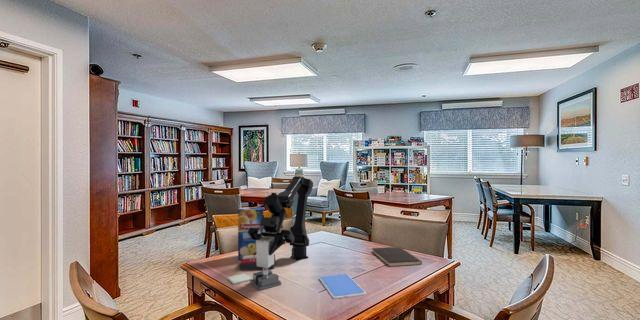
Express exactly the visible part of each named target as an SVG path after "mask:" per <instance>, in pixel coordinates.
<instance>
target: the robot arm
mask: <svg viewBox="0 0 640 320" xmlns="http://www.w3.org/2000/svg"><path fill="white" fill-rule="evenodd" d="M313 187H314V182H313V181H312V179H310V178H305V176H297V175H296V176H293V177H292V179H291V181H290V183H289V184H288V185H287V187H286V188H285V189H284V191H281V192H279V193H278V194H277V192H271V193H270V194H269V195H267V196H266V197H265V198H264V199H263V204H264V206H265V208H266V209H267V210H268V212H269V213H270V214H271V215H270V217H269V216H268V217H267V216H263V217H261V221H260V226H261V225H262V226H263V231H261V230H260V229H259V228H256V227H251V228H249V230H248V232H247V233H248V234H249V235H250V237H251V238H252V239H253V240H258V239H260V238H262V237H266V238H274V242H273V244H272V247H271V249H270V253H269V255H272V254H273V253H274V254H275V252H276V251H277V250H278V249H280V247H282V246H283V245H286V243H287V244H289V246H292V247H291V255H290V258H293V260H294V259H295V260H296V261H299V260H305V259H308V258H309V256H308V255H307V247H309V245H310V239H309V237H308V234H307V232H308V231H307V229H306V227H305V222H306V212H307V205H308V197H309V196H310V194H311V193H312V190H313ZM296 194H297V203H296V211H295V219H294V224H293V225H292V226H290V228H289V229H283V228H284V226H283V224H284V221H285V218H288V214H287V210H286V209H291V208H292V206H293V205H294V197H295V196H296Z"/></svg>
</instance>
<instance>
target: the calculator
mask: <svg viewBox="0 0 640 320" xmlns="http://www.w3.org/2000/svg"><path fill="white" fill-rule="evenodd" d="M275 264H276V254H275V253H274V264H273V265H271V266H270V267H269V268H268V270H275ZM238 265H239V266H238V268H239V271H253V270H254V271H257V270H263V268H264V267H258V266H257V255H255V256H254V255H249V256H244V257H243V258H242V260H240V262H239V263H238Z"/></svg>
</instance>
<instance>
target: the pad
mask: <svg viewBox="0 0 640 320" xmlns="http://www.w3.org/2000/svg"><path fill="white" fill-rule="evenodd" d="M226 278H227V280H228V281H229V282H230V283H231V284H232V285H239V284H242V283H246V282H250V280H252V279H253V277H251V276H249V275H248V274H247V273H246V272H245V273H240V274H234V275H231V276H230V275H229V276H227V277H226Z"/></svg>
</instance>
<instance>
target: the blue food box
mask: <svg viewBox="0 0 640 320" xmlns="http://www.w3.org/2000/svg"><path fill="white" fill-rule="evenodd" d="M261 217H264V206H263V207H262V206H261V207H260V206H259V207H257V206H256V207H254V206H253V207H239V208H238V209H237V241H238V242H237V257H238V258H237V259H238V261H241V260H242V258H243V257H244V256H249V255H254V256H255V255H256V240H253V239H252V238H251V237H250V235H249V234H248V233H247V232H248V230H249V228H251V227H256V228H259V229H260V230H261V231H264V229H263V226H262V225H261V226H260V221H261Z"/></svg>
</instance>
